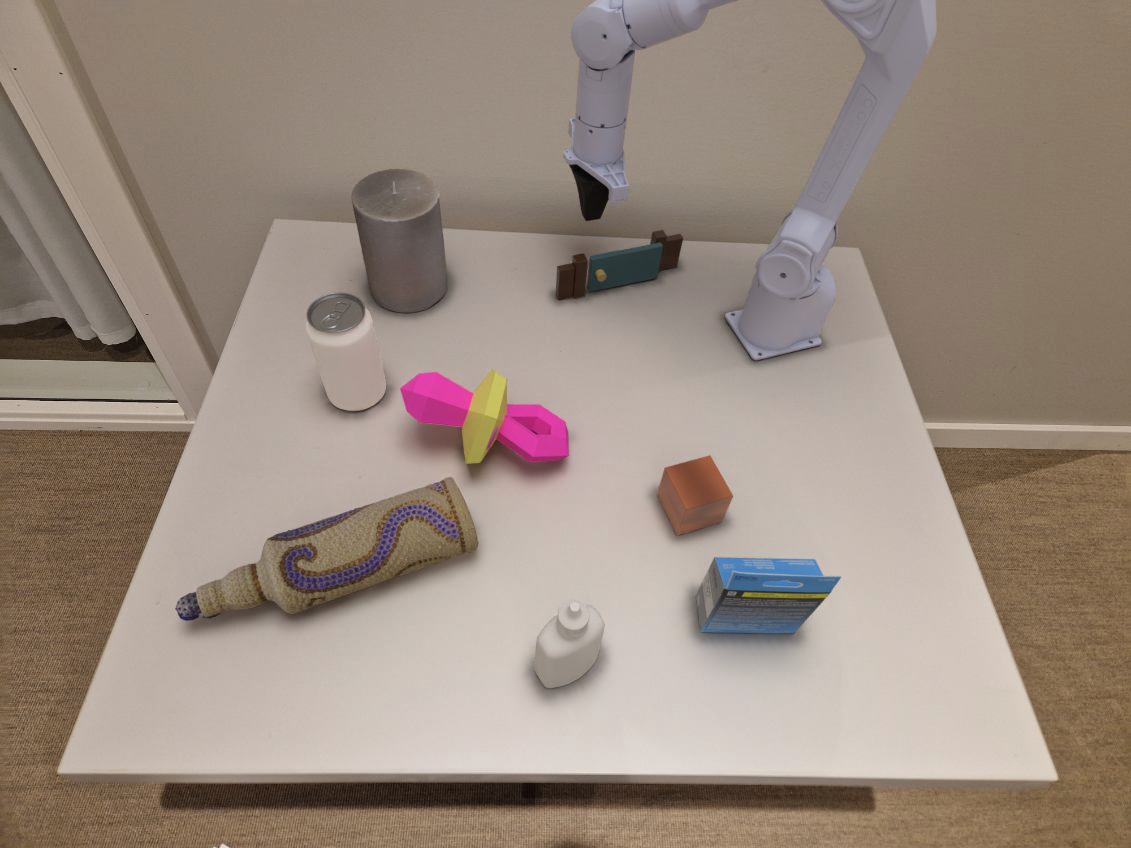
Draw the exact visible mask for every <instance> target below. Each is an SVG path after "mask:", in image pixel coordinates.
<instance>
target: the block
mask: <svg viewBox="0 0 1131 848" xmlns="http://www.w3.org/2000/svg"><path fill="white" fill-rule="evenodd" d="M656 496H657V498H658V500H659V502H660V504H661V506H662V508H663V510H664V512H665V514H666V516H667V518H668V520H669V522H670V524H671V526H672V528H673V530H674V533H675V535H676V536H680V535H683V534H687V533H690V532H694V531H698V530H701V529H704V528H707V527H710V526H715V525H718V524H720V523H721V524H722V523H723V520H724V518H725V516H726V514H727V512H728V509H729V507H730V505H731V503H732V500H733V498H734V495H733V492H732V490H731V489H730V487H729V486H728V484H727V482H726V481H725V478H724V476H723V475H722V473H721V471H720V470H719V468H718V466H717V464H716V462H715V461H714V459H713V457H712V456H711V455H706V456H703V457H699V458H695V459H691V460H687V461H684V462H680V463H675V464H673V465H670V466H669V465H668V466H665V467H664V469H663V472H662V475H661V479H660V482H659V485H658V490H657V493H656Z"/></svg>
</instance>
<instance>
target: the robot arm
mask: <svg viewBox="0 0 1131 848" xmlns="http://www.w3.org/2000/svg"><path fill="white" fill-rule="evenodd" d="M737 1H738V0H594V1H593V2H592V3H591V4H589V5H588V6H586V7H585V8H584V9H582V10H581V11H580V12H579V13H578V15H577V16H576V17H575V18H574V21H573V22H572V25H571V30H570V39H571V45H572V47H573V50H574V52H575V54H576V56H577V58H579V60H578V71H577V86H576V87H577V88H576V101H575V102H576V103H575V116H574V117H571V118H569V119H568V128H567V129H568V135H569V136H570V137H571V138H570V139H571V140H570V141H571V142H570V143H571V147H570V148H569V149H565V150H563V152H562V153H563V154H562V157H563V159H564V161H565V163H566V164H567V165H568V166H569V168H570V171H571V172H572V175H573V178H574V181H575V184H576V188H577V194H578V201H579V208H580V212H581V215H582V217H583V219H584V221H585V222H590V221H597V220H601V218H602V217H603V214H604V212H605V209H606V207H607V204H608V202H610V203H616V202H623V201H628V199H629V193H630V184H629V182H628V180H627V175H626V173H627V172H626V158H625V149H624V144H625V137H626V131H627V130H626V129H627V121H628V112H629V106H630V105H629V104H630V97H631V91H632V81H633V71H634V65H635V64H634V62H635V55H636V51H642V50H645V49H648V48H651V47H655V46H657V45H660V44H663V43H665V42H668V41H670V40H674V39H677V38H678V37H681V36H685V35H686V34H689V33H693V32H695V31H697V30H700V29H701V28H702V26H703V25H704V23H705V21H706V18H707V16H708V14H709V11H710V10H712V9H716V8H718V7H721V6H725V5H728V4H731V3H735V2H737ZM821 2H822V4H823V5H824V7H825V8H826V9H827V10H828V11H829V12H830V13H831V14H832V15H833V16H834V17H835V18H836V19H837V21H839V22H840V23H841V24H842V25H843V26H844V27H845V28H846V29H847V30H848V31H850V32H851V33H852V35H854V37H855V38H856V40H857V42H858V43H859V46H860V47H861V49H862V51H863V53H864V56H865V58H864V60H863V63H862V65H861V67H860V69H859V71H858V74H857V75H856V77H855V80H854V82H853V84H852V86H851V88H850V91H849V92H848V94H847V96H846V99H845V101H844V103H843V104H842V107H841V109H840V111H839V113H838V115H837V117H836V120H835V122H834V124H833V125H832V127H831V130H830V132H829V133H828V136H827V138H826V140H825V142H824V145H823V147H822V148H821V151H820V153H819V155H818V157H817V159H816V162H815V164H814V166H813V168H812V170H811V172H810V174H809V176H808V178H807V180H806V182H805V185H804V187H803V188H802V191H801V193H800V195H799V197H798V199H797V200H796V201H797V202H796V204H795V205H794V208H793V209H791V210H790V211H789V212H788V213H786V214H785V216H784V218H783V220H782V222H781V225H780V226H779V228H778V230H777V232H776V233H775V235H774V236H773V238H772V240H771V241H770V242H769V244H768V246H767V247H766V249H765V250H764V251H763V252H762V253H761V254H760V255H759V257H758V259H757V261H756V264H755V271H754V275H753V278H752V280H751V281H752V282H751V285H750V287H749V290H748V292H747V297H746V299H745V302H744V305H743V308H742V309H738V310H734V311H728V312H726V313H725V315H724V319H725V320H726V321H727V323H728V324H729V326H730V328H731V329H732V331H733V332H734V333H735V335H736V336H737V338H738V340H739V341H740V343H741V344H742V346H743V347H744V349H745V350H746V352H747V353H748V354H749V356H750V358H751V359H752V360H754V361H760V360H764V359H769V358H772V357H776V356H781V355H785V354H789V353H793V352H797V351H801V350H805V349H809V348H813V347H818V346H820V345H822V343H823V340H822V338H820V335H821V332H822V330H823V328H824V326H825V324H826V321H827V320H828V317H829V316H830V314H831V311H832V309H833V306H834V305H835V302H836V296H837V286H836V282H835V278H834V276H833V273H832V272H831V271H830V269H829V268H828V267H827V266H826V265H824V262H825V260H826V259H827V256H828V254H829V253H830V251H831V250H832V248H833V247H834V246H835V245H836V243H837V240H838V236H839V227H838V225H839V219H840V217H841V215H842V213H843V211H844V210H845V207H846V206H847V204H848V203H849V200H850V198H851V197H852V195H853V193H854V191H855V190H856V188H857V185H858V183H859V181H860V180H861V178H862V176H863V174H864V172H865V171H866V170H867V167H868V165H869V163H870V162H871V160H872V158H873V156H874V155H875V152H876V150H877V149H878V147H879V145H880V143H881V141H882V139H883V138H884V136H885V134H886V132H887V131H888V129H889V127H890V124H891V123H892V121H893V119H894V118H895V115H896V114H897V112H898V110H899V108H900V107H901V105H902V102H903V101H904V99H905V97H906V96H907V93H908V92H909V91H910V88H911V87H912V85H913V83H914V81H915V79H916V77H917V76H918V74H919V72H920V70H921V68H922V66H923V64H924V62H925V60H926V58H927V57H928V55H929V53H930V51H931V50H932V48H933V46H934V43H935V40H936V37H937V35H938V33H937V32H938V24H937V23H938V22H937V21H938V20H937V0H821Z"/></svg>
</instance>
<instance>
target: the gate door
mask: <svg viewBox="0 0 1131 848" xmlns="http://www.w3.org/2000/svg"><path fill="white" fill-rule="evenodd" d="M662 249H663V245H662V244H661V243H655V244H650V243H649V244H646V245H639V246H635V247H629V248H625V249H618V250H614V251H608V252H604V253H597V254H592V255H589V258H588V267H587V278H586V290H587V292H590V293H591V292H595V291H599V290H604V289H609V288H614V287H619V286H625V285H629V284H634V283H639V282H645V281H648V280H649V281H650V280H653V279H657V278H658V274H659V272H658V270H659V264H660V259H661V254H662Z"/></svg>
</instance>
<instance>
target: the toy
mask: <svg viewBox="0 0 1131 848" xmlns="http://www.w3.org/2000/svg"><path fill="white" fill-rule="evenodd" d="M399 390H400V394H401V397H402V400H403V404H404V407H405V411H406V413H408V414H409V415H410V416H411V417H413V419H415V420H416V421H417V422H418V423H420V424H430V425H437V426H438V425H439V426H449V427H458V428H460V429H461V437H462V445H463V447H462V448H463V453H464V461H465V462H464V463H465V464H467V465H468V464H480V463H481V462H482V461H483V459H484V458H485V456H486V455H487V454H488V452H489V450H490V449H491V448H492V446H493V445H494V443H495V442H496V440H497V441H498V442H499V443H501V444H503V445H504V446H505V447H506V448H508V449H510V450H511V451H512V452H514V453H516V455H518V456H519V457H521V458H522V459H524V460H525V461H527V462H528V463H541V462H557V461H559V460H562V459H564V458H567V457H569V456H570V447H569V446H570V445H569V444H570V443H569V430H568V426H567V423H566V420H564V419H563V418H561V417H559V416H558V415H557V414H555V413H553V412H552V411H550V410H549V409H547V408H546V407H544V406H543V405H541V404H540V403H537V404H536V403H535V404H533V403H532V404H530V403H528V404H527V403H523V404H522V403H521V404H520V403H519V404H518V403H511V404H510V403H508V379H507V378H506V377H504V375H502V374H501V373H499V372H498V371H497V370H495V369H493V368H492V369H491V370H490V371H489V372H488V374H487V375H486V376H485V377H484V379H483V380H482V381H481V382H480V383H479V385H477V387H476V389H475V390H474V391H473V392H472V391H470V390H468V389H467V388H465V387H464V386H462V385H460V384H458V383H456V382H455V381H453V380H451V379H449V378H448V377H446V376H445V375H443V374H441V373H440V372H438V371H429V372H419V373H418V374H416V375H415V376H414V377H412V378H411V379H410V380H408V381H407V382H406V383H404V384H403V385H402V386H401V387H400V388H399Z"/></svg>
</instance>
